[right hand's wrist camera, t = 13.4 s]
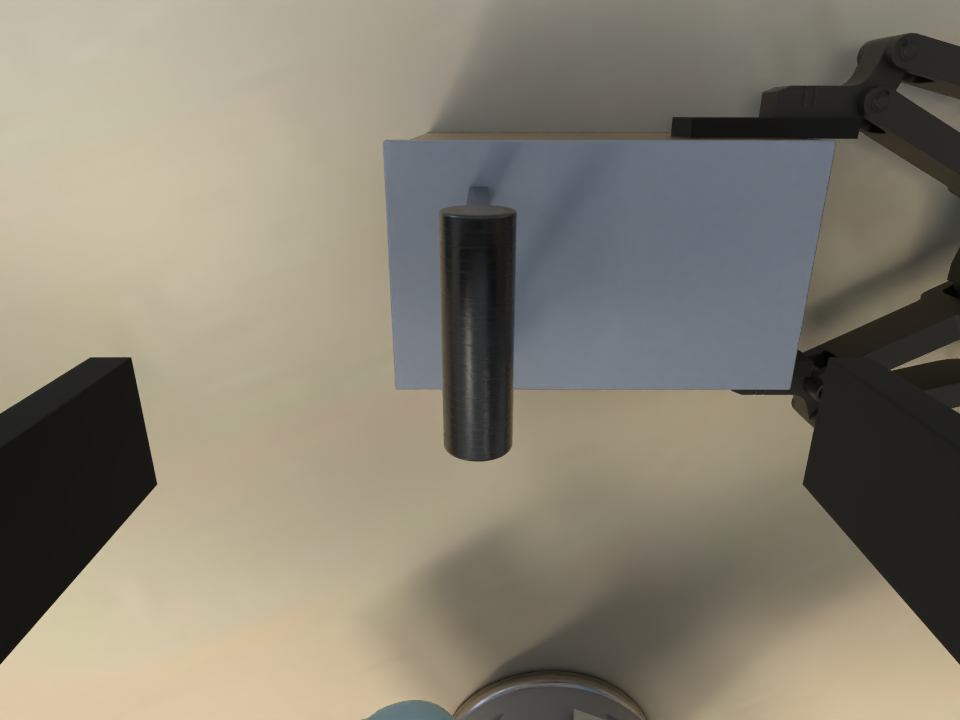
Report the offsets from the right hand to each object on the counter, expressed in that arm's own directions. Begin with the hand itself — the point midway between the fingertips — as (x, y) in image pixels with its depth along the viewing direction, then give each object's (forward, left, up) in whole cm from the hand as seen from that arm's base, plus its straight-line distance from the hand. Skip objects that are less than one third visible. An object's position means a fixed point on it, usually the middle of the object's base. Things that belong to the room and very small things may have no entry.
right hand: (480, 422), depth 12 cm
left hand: (+4, -7, -17) cm, 19 cm away
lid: (+2, -4, -13) cm, 14 cm away
